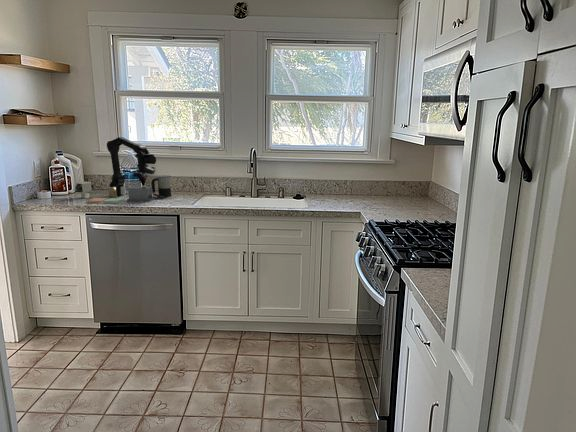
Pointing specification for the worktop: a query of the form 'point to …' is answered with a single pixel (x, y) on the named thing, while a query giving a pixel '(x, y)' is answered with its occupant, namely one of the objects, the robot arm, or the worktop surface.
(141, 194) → the graphite housing
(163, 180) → the coffee carafe
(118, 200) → the sage pad
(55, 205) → the worktop surface
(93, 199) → the terracotta pad
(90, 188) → the pneumatic valve
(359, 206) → the worktop surface
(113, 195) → the bronze cartridge
